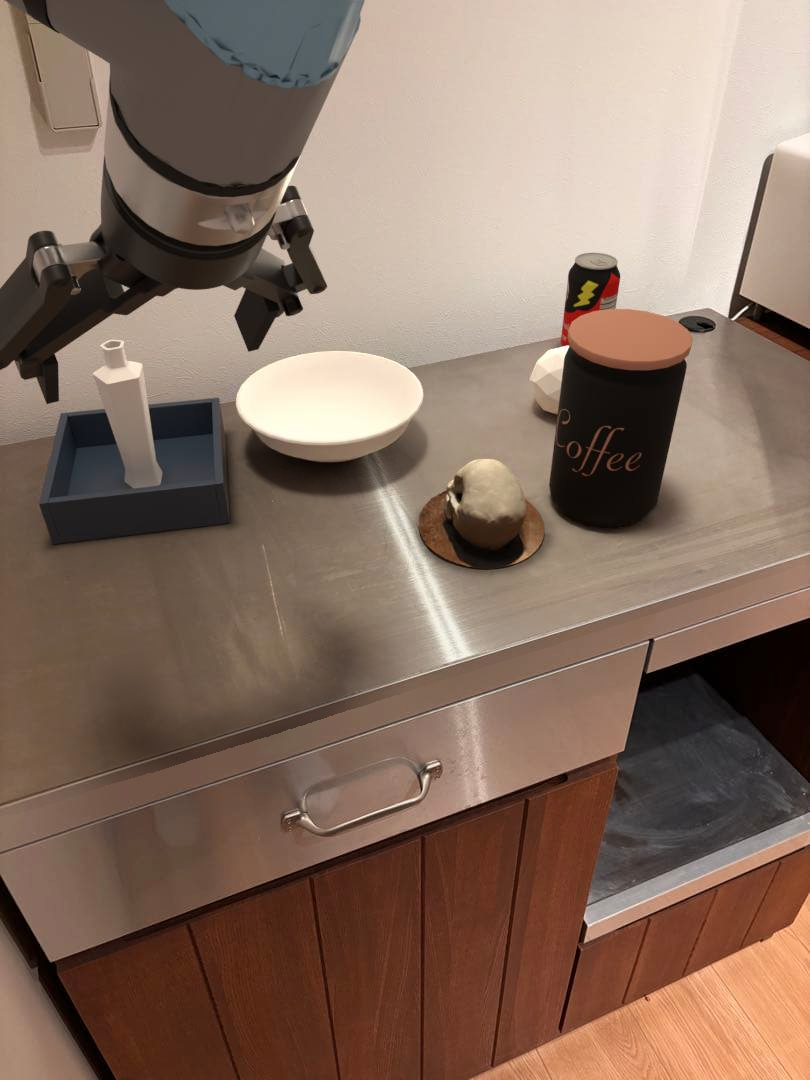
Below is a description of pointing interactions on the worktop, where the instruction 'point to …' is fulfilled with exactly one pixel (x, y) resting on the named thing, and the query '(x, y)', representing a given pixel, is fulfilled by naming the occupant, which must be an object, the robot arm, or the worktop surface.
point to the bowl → (330, 404)
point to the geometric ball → (548, 379)
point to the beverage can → (590, 288)
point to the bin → (99, 475)
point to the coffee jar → (616, 415)
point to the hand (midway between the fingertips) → (150, 356)
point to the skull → (482, 518)
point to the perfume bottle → (128, 414)
